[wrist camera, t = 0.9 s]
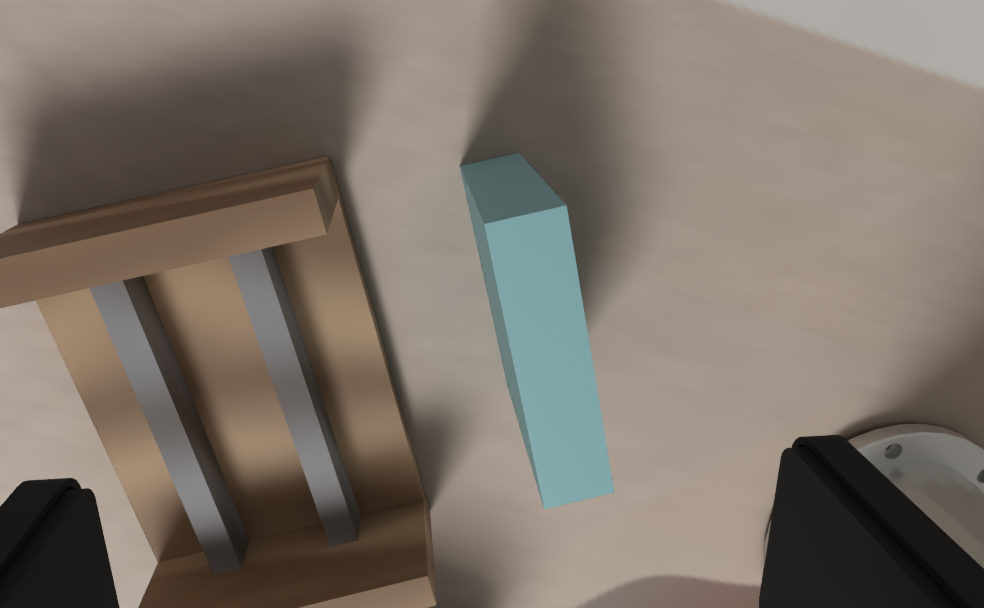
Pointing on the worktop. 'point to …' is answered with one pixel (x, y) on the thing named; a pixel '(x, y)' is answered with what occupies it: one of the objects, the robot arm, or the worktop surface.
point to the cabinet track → (238, 389)
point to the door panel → (540, 326)
